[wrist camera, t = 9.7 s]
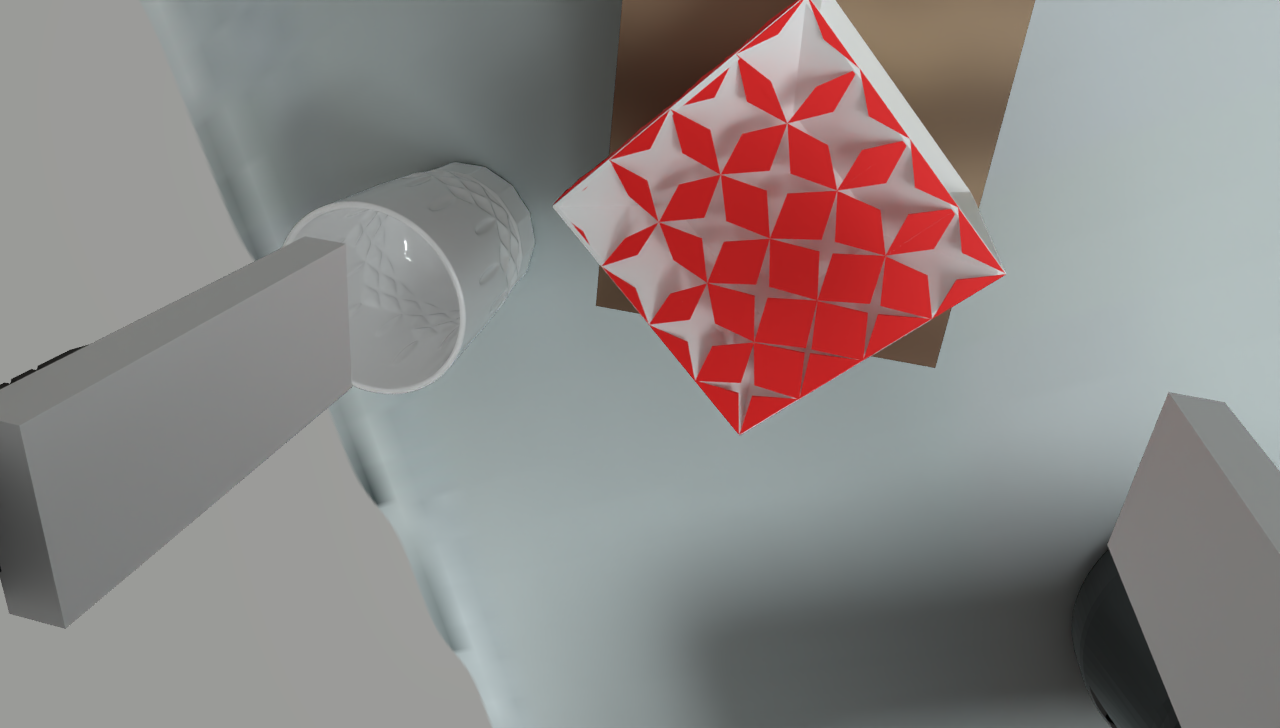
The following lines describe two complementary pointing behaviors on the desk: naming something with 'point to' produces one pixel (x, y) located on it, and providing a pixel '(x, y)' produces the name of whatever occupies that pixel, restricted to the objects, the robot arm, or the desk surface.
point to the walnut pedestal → (902, 43)
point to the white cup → (423, 268)
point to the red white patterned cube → (784, 217)
